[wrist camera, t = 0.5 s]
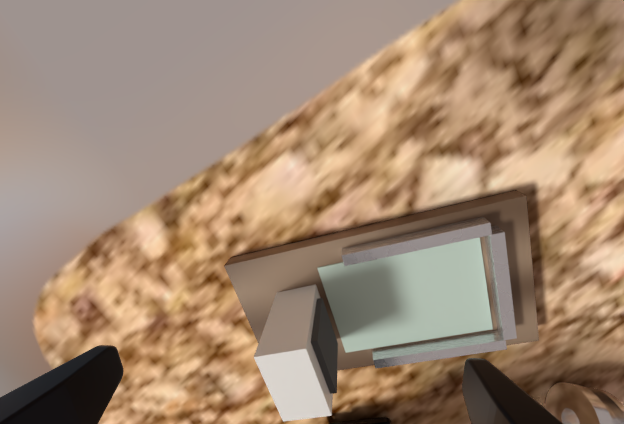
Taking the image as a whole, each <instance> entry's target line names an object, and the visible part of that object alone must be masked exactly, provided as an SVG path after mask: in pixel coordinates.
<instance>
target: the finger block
mask: <svg viewBox="0 0 624 424" xmlns="http://www.w3.org/2000/svg"><path fill="white" fill-rule="evenodd" d="M254 359H255V361H256V363H257V365H258V367H259V370H260V372H261V374H262V376H263V378H264V381H265V383H266V385H267V387H268V389H269V392H270V394H271V396H272V398H273V400H274V402H275V405H276V407H277V409H278V411H279V413H280V416H281V418H282V420H283V421H291V420H300V419H308V418H316V417H325V416H332V397H333V393H337V359H338V342H337V339H336V336H335V333H334V330H333V327H332V324H331V322H330V319H329V316H328V313H327V310H326V307H325V304H324V301H323V298H320V295H319V292H318V289H317V286H316V285H311V286H306V287H301V288H297V289H292V290H287V291H282V292H277V293H276V296H275V299H274V302H273V305H272V307H271V310H270V313H269V316H268V319H267V321H266V324H265V327H264V330H263V333H262V336H261V338H260V341H259V344H258V347H257V350H256V353H255V355H254Z"/></svg>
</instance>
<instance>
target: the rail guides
mask: <svg viewBox="0 0 624 424" xmlns="http://www.w3.org/2000/svg"><path fill="white" fill-rule="evenodd" d="M479 237H484V239H485V246H486V253H487V260H488V268H489V275H490V282H491V289H492V297H493V304H494V311H495V318H496V326H497V330H493V331H487V332H480V333H474V334H468V335H461V336H455V337H449V338H442V339H436V340H430V341H423V342H417V343H411V344H405V345H398V346H392V347H386V348H379V349H373V350H372V354H373V361H374V365H375V368H382V367H389V366H395V365H402V364H409V363H416V362H423V361H430V360H437V359H443V358H450V357H457V356H464V355H471V354H478V353H484V352H491V351H498V350H505V349H507V347H506V340H509V339H516V338H517V336H516V327H515V318H514V309H513V301H512V292H511V283H510V274H509V266H508V257H507V248H506V240H505V232H504V231H503V230H502V229H500V228H499V227H498V226H492V227H491V223H490V222H489V221H488V220H487V219H486V218H484V217H479V218H474V219H470V220H466V221H461V222H457V223H452V224H448V225H444V226H439V227H435V228H430V229H426V230H421V231H417V232H413V233H408V234H404V235H399V236H395V237H390V238H386V239H382V240H377V241H373V242H368V243H364V244H360V245H355V246H351V247H346V248H342V252H341V256H342V259H343V262H344V266H348V265H353V264H358V263H362V262H367V261H372V260H376V259H381V258H386V257H390V256H395V255H400V254H404V253H409V252H414V251H418V250H423V249H428V248H432V247H437V246H442V245H446V244H451V243H456V242H460V241H465V240H470V239H474V238H479Z"/></svg>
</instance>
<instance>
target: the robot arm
mask: <svg viewBox="0 0 624 424" xmlns="http://www.w3.org/2000/svg"><path fill="white" fill-rule="evenodd" d="M122 376H123V366H122V363H121V360H120V357H119V354H118V350H117V348H116V347H115V346H109V345H100V346H97V347H95V348H93V349H91V350H89V351H87V352H85V353H83V354H81V355H79V356H78V357H76V358H74V359H72V360H70V361H68V362H66V363H64V364H62V365H61V366H59V367H57V368H55V369H53V370H51V371H49V372H47V373H45V374H44V375H42V376H40V377H38V378H36V379H34V380H32V381H30V382H28V383H27V384H25V385H23V386H21V387H19V388H17V389H15V390H13V391H11V392H10V393H8V394H6V395H4V396H2V397H0V424H98V422H99V420H100V418H101V417H102V415H103V413H104V411H105V409H106V407H107V405H108V403H109V402H110V400H111V398H112V396H113V394H114V392H115V390H116V389H117V387H118V385H119V383H120V381H121V379H122ZM462 390H463V396H464V399H465V403H466V406H467V410H468V414H469V417H470V421H471V424H563V423H562V422H561V421H560V420H558V419H557V418H556V417H555V416H554V415H552V414H551V413H550V412H549V411H548V410H546V409H545V408H544V407H543V406H542V405H540V404H539V403H538V402H537V401H536V400H534V399H533V398H532V397H531V396H530V395H528V394H527V393H526V392H525V391H524V390H522V389H521V388H520V387H519V386H518V385H516V384H515V383H514V382H513V381H512V380H510V379H509V378H508V377H507V376H506V375H504V374H503V373H502V372H501V371H500V370H498V369H497V368H496V367H495V366H494V365H492V364H491V363H490V362H489V361H487V360H485V359H477V358H469V359H467V360H466V362H465V368H464V375H463V383H462ZM331 424H392V422H391V420H390V419H389V418H386V417H383V418H375V419H366V420H357V421H349V422H340V423H331Z"/></svg>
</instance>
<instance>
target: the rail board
mask: <svg viewBox="0 0 624 424" xmlns="http://www.w3.org/2000/svg"><path fill="white" fill-rule="evenodd" d="M479 217H484V218H486V219H487V220H488V221H489V222H490V223H491V227H492V226H498V227H499V228H500V229H502V230H503V231H504V232H505V240H506V248H507V257H508V266H509V274H510V283H511V292H512V301H513V309H514V318H515V327H516V336H517V338H516V339H509V340H506V345H512V344H519V343H526V342H532V341H539V336H538V324H537V313H536V301H535V290H534V278H533V267H532V255H531V244H530V232H529V221H528V209H527V198H526V195H524V194H522V193H520V192H518V191H516V190H515V191H510V192H506V193H502V194H498V195H493V196H489V197H485V198H481V199H477V200H472V201H468V202H464V203H460V204H456V205H451V206H447V207H443V208H439V209H434V210H430V211H426V212H422V213H418V214H413V215H409V216H405V217H401V218H396V219H392V220H388V221H384V222H380V223H375V224H371V225H367V226H363V227H359V228H354V229H350V230H346V231H342V232H337V233H333V234H329V235H325V236H321V237H316V238H312V239H308V240H304V241H299V242H295V243H291V244H287V245H283V246H278V247H274V248H270V249H266V250H262V251H257V252H253V253H249V254H245V255H240V256H236V257H232V258H230V259H229V260H228V262H227V263H226V264H225V266H224V267H225V269H226V271H227V273H228V276H229V278H230V280H231V282H232V285H233V287H234V289H235V291H236V294H237V296H238V298H239V300H240V303H241V305H242V307H243V310H244V312H245V314H246V316H247V319H248V321H249V323H250V325H251V328H252V330H253V332H254V334H255V337H256V339H257V341H258V343H259V341H260V338H261V336H262V333H263V330H264V327H265V324H266V321H267V319H268V316H269V313H270V310H271V307H272V305H273V302H274V299H275V296H276V293H277V292H282V291H287V290H292V289H297V288H301V287H306V286H311V285H316V286H317V289H318V292H319V295H320V298H323V301H324V304H325V307H326V310H327V313H328V316H329V319H330V322H331V324H332V327H333V330H334V333H335V336H336V339H337V342H338V359H337V370H344V369H350V368H357V367H364V366H371V365H374V361H373V354H372V350H373V349H379V348H386V347H392V346H398V345H405V344H411V343H417V342H423V341H430V340H436V339H442V338H449V337H455V336H461V335H468V334H474V333H480V332H487V331H493V330H497V326H496V318H495V311H494V304H493V297H492V289H491V282H490V275H489V268H488V260H487V253H486V246H485V239H484V237H479V238H474V239H470V240H465V241H460V242H456V243H451V244H446V245H442V246H437V247H432V248H428V249H423V250H418V251H414V252H409V253H404V254H400V255H395V256H390V257H386V258H381V259H376V260H372V261H367V262H362V263H358V264H353V265H348V266H344V262H343V259H342V256H341V252H342V248H346V247H351V246H355V245H360V244H364V243H368V242H373V241H377V240H382V239H386V238H390V237H395V236H399V235H404V234H408V233H413V232H417V231H421V230H426V229H430V228H435V227H439V226H444V225H448V224H452V223H457V222H461V221H466V220H470V219H474V218H479Z"/></svg>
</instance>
